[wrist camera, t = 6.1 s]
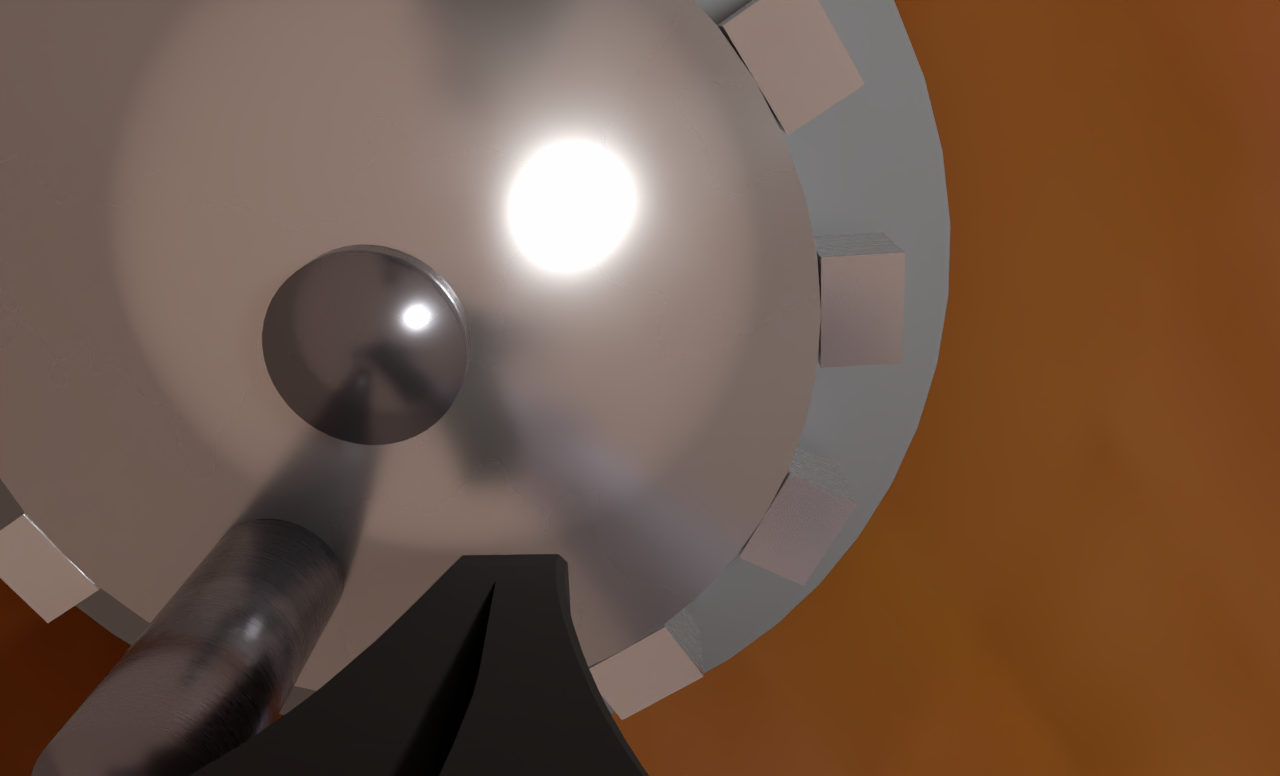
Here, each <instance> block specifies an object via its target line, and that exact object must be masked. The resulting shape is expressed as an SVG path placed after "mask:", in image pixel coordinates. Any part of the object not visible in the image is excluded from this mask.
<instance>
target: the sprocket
mask: <svg viewBox="0 0 1280 776" xmlns="http://www.w3.org/2000/svg"><path fill="white" fill-rule="evenodd" d="M863 85H865V83H864V81H863V80H862V78H861V76H860V74H859V72H858V71H857V69H856V67H855V65H854V63H853V62H852V60H851V58H850V56H849V54H848V53H847V51H846V49H845V47H844V45H843V44H842V42H841V40H840V38H839V36H838V35H837V33H836V31H835V29H834V27H833V26H832V24H831V22H830V20H829V18H828V17H827V15H826V13H825V11H824V9H823V8H822V6H821V4H820V2H819V0H752V1H750V2H749V3H748V4H746V5H745V6H743V7H742V8H740V9H739V10H738V11H736V12H735V13H733V14H732V15H730V16H729V17H728V18H726V19H725V20H723V21H722V22H720V23H719V24H718V25H716V24H715V23H714V22H713V20H712V19H711V18H710V17H709V16H708V15H707V14H706V13H705V12H704V11H703V9H702V8H701V7H700V6H699V5H698V4H697V3H696V2H695V1H694V0H0V479H1V480H2V482H3V483H4V484H5V486H6V487H7V489H8V490H9V491H10V493H11V494H12V495H13V497H14V498H15V500H16V501H17V502H18V504H19V505H20V506H21V508H22V509H23V511H22V512H21V513H20V514H19V515H17V516H16V517H15V518H13V519H12V520H11V521H10V522H8V523H7V524H6V525H4V526H3V527H2V528H0V578H1V579H2V580H3V581H4V582H5V583H6V584H7V585H8V586H9V587H10V588H11V589H12V590H13V591H15V592H16V593H17V594H18V595H19V596H20V597H21V598H22V599H23V600H24V601H25V602H26V603H27V604H28V605H29V606H30V607H31V608H32V609H33V610H34V611H35V612H36V613H38V614H39V615H40V616H41V617H42V618H43V619H44V620H45V621H46V622H47V623H49V622H51V621H52V620H54V619H55V618H57V617H58V616H60V615H61V614H63V613H64V612H66V611H67V610H69V609H70V608H72V607H73V606H75V605H76V604H78V603H80V602H81V601H83V600H84V599H86V598H87V597H89V596H90V595H92V594H93V593H95V592H96V591H98V590H99V589H100V588H101V589H103V590H104V591H105V592H107V593H108V594H110V595H111V596H112V597H114V598H115V599H117V600H118V601H119V602H121V603H122V604H123V605H125V606H126V607H128V608H129V609H130V610H132V611H133V612H135V613H136V614H137V615H139V616H140V617H141V618H143V619H144V620H146V621H147V622H149V623H150V624H149V625H148V626H147V627H146V629H145V630H144V631H143V632H142V633H141V634H140V636H139V637H138V638H137V639H136V640H135V642H134V643H133V644H132V645H131V646H130V648H129V649H128V650H127V651H126V652H125V654H124V655H123V656H122V657H121V658H120V659H119V661H118V662H117V663H116V664H115V665H114V667H113V668H112V669H111V670H110V671H109V673H108V674H107V675H106V676H105V677H104V679H103V680H102V681H101V682H100V683H99V685H98V686H97V687H96V688H95V689H94V690H93V692H92V693H91V694H90V695H89V696H88V698H87V699H86V700H85V701H84V702H83V704H82V705H81V706H80V707H79V708H78V710H77V711H76V712H75V713H74V714H73V715H72V717H71V718H70V719H69V720H68V721H67V723H66V724H65V725H64V726H63V727H62V729H61V730H60V731H59V732H58V733H57V735H56V736H55V737H54V738H53V739H52V741H51V742H50V743H49V744H48V745H47V746H46V748H45V749H44V750H43V751H42V753H41V754H40V756H39V757H38V759H37V760H36V763H35V765H34V767H33V771H32V776H190V775H191V774H193V773H195V772H196V771H198V770H200V769H201V768H203V767H205V766H206V765H208V764H210V763H211V762H213V761H215V760H216V759H218V758H220V757H221V756H223V755H225V754H226V753H228V752H230V751H231V750H233V749H235V748H236V747H238V746H240V745H241V744H243V743H244V742H246V741H247V740H249V739H250V738H252V737H254V736H255V735H257V734H258V733H259V732H261V731H262V730H264V729H265V728H267V727H268V726H269V725H271V724H272V723H274V722H275V720H276V718H277V716H278V714H279V712H280V711H281V709H282V707H283V705H284V703H285V701H286V700H287V698H288V696H289V694H290V692H291V690H292V688H293V687H294V686H297V687H302V688H306V689H311V690H315V691H317V690H318V689H320V688H321V687H322V686H323V685H325V684H326V683H327V682H328V681H329V680H331V679H332V678H333V677H334V676H335V675H336V674H338V673H339V672H340V671H341V670H342V669H343V668H344V667H346V666H347V665H348V664H349V663H350V662H351V661H353V660H354V659H355V658H356V657H357V656H358V655H360V654H361V653H362V652H363V651H364V650H365V649H367V648H368V647H369V646H370V645H371V644H372V643H374V642H375V641H376V640H377V639H378V638H379V637H380V636H381V635H382V634H383V633H384V632H385V631H386V630H387V629H388V628H389V627H390V626H391V625H392V624H393V623H394V622H396V621H397V620H398V619H399V618H400V617H401V616H402V615H403V614H404V613H405V612H406V611H407V610H408V609H409V608H410V607H411V606H412V605H413V604H414V603H415V602H416V601H417V600H418V599H419V598H420V597H421V596H422V595H423V594H424V593H425V592H426V591H427V590H428V589H429V588H430V587H431V586H432V585H433V584H434V583H435V582H436V581H437V580H438V579H439V578H440V577H441V576H442V575H443V574H444V573H445V572H446V571H447V570H448V569H449V568H450V567H451V566H452V565H453V564H454V563H455V562H456V561H457V560H458V559H459V558H460V557H461V556H462V555H517V554H559V555H560V556H561V557H563V558H564V559H565V560H566V561H567V562H568V576H569V593H570V610H571V617H572V621H573V625H574V628H575V631H576V634H577V637H578V640H579V643H580V646H581V649H582V652H583V654H584V657H585V659H586V662H587V665H588V667H589V670H590V672H591V674H592V676H593V679H594V681H595V683H596V685H597V688H598V690H599V692H600V694H601V695H602V696H603V697H604V699H605V700H606V701H607V702H608V703H609V705H610V706H611V707H612V708H613V710H614V711H615V712H616V713H617V714H618V716H619V717H620V718H621V719H622V720H623V719H625V718H627V717H629V716H631V715H633V714H634V713H636V712H638V711H640V710H642V709H644V708H646V707H648V706H649V705H651V704H653V703H655V702H657V701H659V700H661V699H663V698H664V697H666V696H668V695H670V694H672V693H674V692H676V691H678V690H679V689H681V688H683V687H685V686H687V685H689V684H691V683H692V682H694V681H696V680H698V679H700V678H702V677H704V675H703V663H702V651H701V639H700V627H699V625H698V624H697V623H696V621H695V620H694V619H693V617H692V616H691V615H690V613H689V612H688V611H687V609H686V608H685V607H686V606H687V605H688V604H689V603H691V602H692V601H693V600H694V599H695V598H697V597H698V596H699V595H700V594H701V593H702V592H703V591H704V590H705V589H706V588H707V587H708V586H709V585H710V584H711V583H712V582H713V581H714V580H715V578H716V577H717V576H718V575H719V574H720V573H721V572H722V571H723V570H724V569H725V568H726V567H727V566H728V565H729V563H730V562H731V561H732V560H733V559H734V558H735V557H736V556H737V554H739V558H742V559H744V560H746V561H748V562H751V563H753V564H755V565H757V566H760V567H762V568H764V569H766V570H769V571H771V572H773V573H776V574H778V575H780V576H782V577H785V578H787V579H789V580H791V581H794V582H796V583H798V584H800V585H803V586H804V585H805V583H806V582H807V580H808V578H809V577H810V575H811V574H812V572H813V571H814V569H815V568H816V566H817V565H818V563H819V562H820V560H821V558H822V557H823V555H824V554H825V552H826V551H827V549H828V548H829V546H830V545H831V543H832V542H833V540H834V539H835V537H836V535H837V534H838V532H839V531H840V529H841V528H842V526H843V525H844V523H845V522H846V520H847V519H848V517H849V515H850V514H851V512H852V511H853V509H854V508H855V506H856V505H857V504H856V502H855V499H854V497H853V495H852V492H851V490H850V488H849V485H848V483H847V481H846V479H845V476H844V474H843V472H842V469H841V467H840V465H839V464H837V463H834V462H832V461H830V460H828V459H826V458H824V457H822V456H819V455H817V454H815V453H813V452H811V451H809V450H807V449H805V448H802V447H800V446H798V442H799V439H800V437H801V434H802V431H803V428H804V426H805V423H806V419H807V414H808V409H809V405H810V400H811V395H812V391H813V386H814V381H815V376H816V372H817V363H819V365H820V367H821V368H827V367H844V366H862V365H879V364H897V363H902V339H903V312H904V285H905V257H906V252H905V251H904V250H902V249H901V248H900V247H899V246H898V245H897V244H896V243H894V242H893V241H892V240H891V239H890V238H889V237H888V236H886V235H885V234H884V233H883V232H873V233H857V234H841V235H825V236H813V233H812V228H811V223H810V218H809V213H808V208H807V203H806V198H805V195H804V192H803V189H802V186H801V184H800V181H799V178H798V175H797V172H796V169H795V166H794V163H793V161H792V158H791V155H790V152H789V149H788V146H787V143H786V140H785V138H784V136H783V134H782V132H781V130H782V131H783V132H784V133H785V134H787V135H789V134H790V133H792V132H793V131H795V130H796V129H798V128H799V127H801V126H803V125H804V124H806V123H807V122H809V121H810V120H812V119H813V118H815V117H816V116H818V115H819V114H821V113H822V112H824V111H825V110H827V109H828V108H830V107H831V106H833V105H834V104H836V103H837V102H839V101H840V100H842V99H843V98H845V97H846V96H848V95H849V94H851V93H853V92H854V91H856V90H857V89H859V88H860V87H862V86H863Z"/></svg>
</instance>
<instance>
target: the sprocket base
mask: <svg viewBox="0 0 1280 776" xmlns="http://www.w3.org/2000/svg"><path fill="white" fill-rule="evenodd" d="M694 1H695V2H696V3H697V4H698V5H699V6H700V7H701V8H702V9H703V11H704V12H705V13H706V14H707V15H708V16H709V17H710V18H711V19H712V20H713V22H714V23H715V24H716V25H718V24H719V23H720V22H722V21H723V20H725V19H726V18H728V17H729V16H730V15H732V14H733V13H735V12H736V11H738V10H739V9H740V8H742V7H743V6H745V5H746V4H748V3H749V2H750V1H752V0H694ZM819 2H820V4H821V6H822V8H823V9H824V11H825V13H826V15H827V17H828V18H829V20H830V22H831V24H832V26H833V27H834V29H835V31H836V33H837V35H838V36H839V38H840V40H841V42H842V44H843V45H844V47H845V49H846V51H847V53H848V54H849V56H850V58H851V60H852V62H853V63H854V65H855V67H856V69H857V71H858V72H859V74H860V76H861V78H862V80H863V81H864V83H865V85H863V86H862V87H860V88H859V89H857V90H856V91H854V92H853V93H851V94H849V95H848V96H846V97H845V98H843V99H842V100H840V101H839V102H837V103H836V104H834V105H833V106H831V107H830V108H828V109H827V110H825V111H824V112H822V113H821V114H819V115H818V116H816V117H815V118H813V119H812V120H810V121H809V122H807V123H806V124H804V125H803V126H801V127H799V128H798V129H796V130H795V131H793V132H792V133H790V134H789V135H787V134H785V133H784V132H783V131H782V130H781V132H782V134H783V136H784V138H785V140H786V143H787V146H788V149H789V152H790V155H791V158H792V161H793V163H794V166H795V169H796V172H797V175H798V178H799V181H800V184H801V186H802V189H803V192H804V195H805V198H806V203H807V208H808V213H809V218H810V223H811V228H812V233H813V236H825V235H841V234H857V233H873V232H883V233H884V234H885V235H886V236H888V237H889V238H890V239H891V240H892V241H893V242H894V243H896V244H897V245H898V246H899V247H900V248H901V249H902V250H904V251H905V252H906V257H905V285H904V312H903V339H902V363H897V364H879V365H862V366H844V367H827V368H821V367H820V365H819V363H817V372H816V376H815V381H814V386H813V391H812V395H811V400H810V405H809V409H808V414H807V419H806V423H805V426H804V428H803V431H802V434H801V437H800V439H799V442H798V446H800V447H802V448H805V449H807V450H809V451H811V452H813V453H815V454H817V455H819V456H822V457H824V458H826V459H828V460H830V461H832V462H834V463H837V464H839V465H840V467H841V469H842V472H843V474H844V476H845V479H846V481H847V483H848V485H849V488H850V490H851V492H852V495H853V497H854V499H855V502H856V504H857V505H856V506H855V508H854V509H853V511H852V512H851V514H850V515H849V517H848V519H847V520H846V522H845V523H844V525H843V526H842V528H841V529H840V531H839V532H838V534H837V535H836V537H835V539H834V540H833V542H832V543H831V545H830V546H829V548H828V549H827V551H826V552H825V554H824V555H823V557H822V558H821V560H820V562H819V563H818V565H817V566H816V568H815V569H814V571H813V572H812V574H811V575H810V577H809V578H808V580H807V582H806V583H805V585H804V586H803V585H800V584H798V583H796V582H794V581H791V580H789V579H787V578H785V577H782V576H780V575H778V574H776V573H773V572H771V571H769V570H766V569H764V568H762V567H760V566H757V565H755V564H753V563H751V562H748V561H746V560H744V559H742V558H739V554H737V556H736V557H735V558H734V559H733V560H732V561H731V562H730V563H729V565H728V566H727V567H726V568H725V569H724V570H723V571H722V572H721V573H720V574H719V575H718V576H717V577H716V578H715V580H714V581H713V582H712V583H711V584H710V585H709V586H708V587H707V588H706V589H705V590H704V591H703V592H702V593H701V594H700V595H699V596H698V597H697V598H695V599H694V600H693V601H692V602H691V603H689V604H688V605H687V606H686V607H685V608H686V609H687V611H688V612H689V613H690V615H691V616H692V617H693V619H694V620H695V621H696V623H697V624H698V625H699V627H700V639H701V651H702V663H703V674H704V673H705V672H707V671H709V670H711V669H712V668H714V667H716V666H718V665H720V664H721V663H723V662H725V661H727V660H728V659H730V658H731V657H733V656H734V655H735V654H737V653H738V652H740V651H741V650H742V649H744V648H745V647H746V646H748V645H749V644H750V643H752V642H753V641H755V640H756V639H757V638H759V637H760V636H761V635H763V634H764V633H765V632H767V631H768V630H770V629H771V628H772V627H774V626H775V625H776V624H777V623H779V622H780V621H781V620H782V619H783V618H784V617H785V616H786V615H787V614H788V613H789V612H790V611H791V610H792V609H793V608H794V607H796V606H797V605H798V604H799V603H800V602H801V601H802V600H803V599H804V598H805V597H806V596H807V595H808V594H809V593H810V592H811V591H812V590H814V589H815V588H816V587H817V586H818V585H819V584H820V583H821V582H822V580H823V579H824V578H825V577H826V575H827V574H828V573H829V572H830V571H831V569H832V568H833V567H834V566H835V565H836V563H837V562H838V561H839V560H840V558H841V557H842V556H843V555H844V554H845V552H846V551H847V550H848V549H849V548H850V546H851V545H852V544H853V543H854V541H855V540H856V539H857V538H858V537H859V535H860V533H861V532H862V530H863V529H864V527H865V525H866V524H867V522H868V521H869V519H870V517H871V516H872V514H873V513H874V511H875V509H876V508H877V506H878V505H879V503H880V502H881V500H882V498H883V497H884V495H885V494H886V492H887V490H888V489H889V487H890V486H891V484H892V482H893V479H894V477H895V475H896V473H897V471H898V469H899V466H900V464H901V462H902V460H903V458H904V455H905V453H906V451H907V449H908V447H909V445H910V442H911V440H912V438H913V436H914V434H915V431H916V429H917V427H918V424H919V421H920V418H921V414H922V411H923V408H924V405H925V401H926V398H927V395H928V392H929V388H930V385H931V382H932V378H933V375H934V372H935V369H936V365H937V361H938V355H939V349H940V343H941V337H942V331H943V325H944V319H945V313H946V306H947V300H948V286H949V252H950V218H949V208H948V199H947V190H946V180H945V171H944V161H943V152H942V148H941V144H940V140H939V136H938V131H937V127H936V123H935V119H934V115H933V111H932V107H931V103H930V99H929V95H928V91H927V87H926V83H925V78H924V75H923V73H922V70H921V68H920V65H919V63H918V60H917V58H916V55H915V53H914V50H913V48H912V45H911V43H910V40H909V37H908V35H907V32H906V30H905V27H904V25H903V22H902V20H901V17H900V15H899V12H898V10H897V7H896V5H895V2H894V1H893V0H819ZM22 511H23V509H22V508H21V506H20V505H19V504H18V502H17V501H16V500H15V498H14V497H13V495H12V494H11V493H10V491H9V490H8V489H7V487H6V486H5V484H4V483H3V482H2V480H1V479H0V528H2V527H3V526H4V525H6V524H7V523H8V522H10V521H11V520H12V519H13V518H15V517H16V516H17V515H19V514H20V513H21V512H22ZM75 606H76V607H78V608H79V609H80V610H81V611H83V612H84V613H85V614H87V615H88V616H89V617H91V618H92V619H93V620H95V621H96V622H97V623H99V624H100V625H101V626H103V627H104V628H105V629H106V630H108V631H109V632H110V633H112V634H113V635H115V636H117V637H118V638H120V639H122V640H123V641H125V642H127V643H128V644H130V645H132V644H133V643H134V642H135V640H136V639H137V638H138V637H139V636H140V634H141V633H142V632H143V631H144V630H145V629H146V627H147V626H148V625H149V624H150V623H149V622H147V621H146V620H144V619H143V618H141V617H140V616H139V615H137V614H136V613H135V612H133V611H132V610H130V609H129V608H128V607H126V606H125V605H123V604H122V603H121V602H119V601H118V600H117V599H115V598H114V597H112V596H111V595H110V594H108V593H107V592H105V591H104V590H103V589H101V588H100V589H99V590H98V591H96V592H95V593H93V594H92V595H90V596H89V597H87V598H86V599H84V600H83V601H81V602H80V603H78V604H76V605H75ZM315 692H316V691H315V690H311V689H306V688H302V687H297V686H294V687H293V688H292V690H291V692H290V694H289V696H288V698H287V700H286V701H285V703H284V705H283V707H282V709H281V711H280V712H279V714H281V715H285V714H286V713H288V712H289V711H291V710H292V709H293V708H295V707H296V706H297V705H299V704H300V703H301V702H303V701H304V700H305V699H307V698H308V697H309V696H311V695H312V694H313V693H315ZM601 696H602V695H601ZM602 698H603V700H604V702H605V704H606V706H607V708H608V710H609V712H610V714H613V713H616V712H615V711H614V710H613V708H612V707H611V706H610V705H609V703H608V702H607V701H606V700H605V699H604V697H603V696H602Z"/></svg>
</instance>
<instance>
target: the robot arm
mask: <svg viewBox="0 0 1280 776" xmlns="http://www.w3.org/2000/svg"><path fill="white" fill-rule="evenodd" d="M190 776H649V775H648V774H647V772H646V771H645V770H644V768H643V767H642V765H641V764H640V762H639V761H638V759H637V757H636V756H635V754H634V753H633V751H632V750H631V748H630V747H629V745H628V743H627V742H626V740H625V739H624V737H623V735H622V733H621V732H620V730H619V728H618V726H617V725H616V723H615V721H614V719H613V718H612V716H611V714H610V712H609V710H608V708H607V706H606V704H605V702H604V700H603V698H602V696H601V694H600V692H599V690H598V688H597V685H596V683H595V681H594V679H593V676H592V674H591V672H590V670H589V667H588V665H587V662H586V659H585V657H584V654H583V652H582V649H581V646H580V643H579V640H578V637H577V634H576V631H575V628H574V625H573V621H572V617H571V610H570V593H569V576H568V562H567V561H566V560H565V559H564V558H563V557H561V556H560V555H559V554H517V555H462V556H461V557H460V558H459V559H458V560H457V561H456V562H455V563H454V564H453V565H452V566H451V567H450V568H449V569H448V570H447V571H446V572H445V573H444V574H443V575H442V576H441V577H440V578H439V579H438V580H437V581H436V582H435V583H434V584H433V585H432V586H431V587H430V588H429V589H428V590H427V591H426V592H425V593H424V594H423V595H422V596H421V597H420V598H419V599H418V600H417V601H416V602H415V603H414V604H413V605H412V606H411V607H410V608H409V609H408V610H407V611H406V612H405V613H404V614H403V615H402V616H401V617H400V618H399V619H398V620H397V621H396V622H394V623H393V624H392V625H391V626H390V627H389V628H388V629H387V630H386V631H385V632H384V633H383V634H382V635H381V636H380V637H379V638H378V639H377V640H376V641H375V642H374V643H372V644H371V645H370V646H369V647H368V648H367V649H365V650H364V651H363V652H362V653H361V654H360V655H358V656H357V657H356V658H355V659H354V660H353V661H351V662H350V663H349V664H348V665H347V666H346V667H344V668H343V669H342V670H341V671H340V672H339V673H338V674H336V675H335V676H334V677H333V678H332V679H331V680H329V681H328V682H327V683H326V684H325V685H323V686H322V687H321V688H320V689H318V690H317V691H316V692H315V693H313V694H312V695H311V696H309V697H308V698H307V699H305V700H304V701H303V702H301V703H300V704H299V705H297V706H296V707H295V708H293V709H292V710H291V711H289V712H288V713H286V714H285V715H284V716H282V717H281V718H279V719H278V720H276V721H275V722H274V723H272V724H271V725H269V726H268V727H267V728H265V729H264V730H262V731H261V732H259V733H258V734H257V735H255V736H254V737H252V738H250V739H249V740H247V741H246V742H244V743H243V744H241V745H240V746H238V747H236V748H235V749H233V750H231V751H230V752H228V753H226V754H225V755H223V756H221V757H220V758H218V759H216V760H215V761H213V762H211V763H210V764H208V765H206V766H205V767H203V768H201V769H200V770H198V771H196V772H195V773H193V774H191V775H190Z"/></svg>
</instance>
